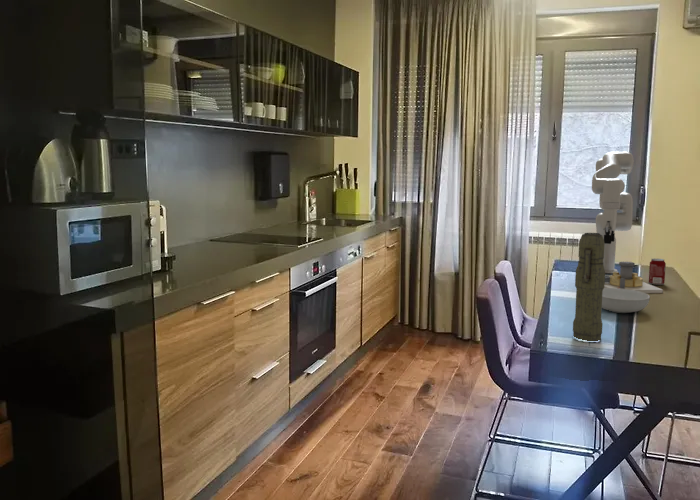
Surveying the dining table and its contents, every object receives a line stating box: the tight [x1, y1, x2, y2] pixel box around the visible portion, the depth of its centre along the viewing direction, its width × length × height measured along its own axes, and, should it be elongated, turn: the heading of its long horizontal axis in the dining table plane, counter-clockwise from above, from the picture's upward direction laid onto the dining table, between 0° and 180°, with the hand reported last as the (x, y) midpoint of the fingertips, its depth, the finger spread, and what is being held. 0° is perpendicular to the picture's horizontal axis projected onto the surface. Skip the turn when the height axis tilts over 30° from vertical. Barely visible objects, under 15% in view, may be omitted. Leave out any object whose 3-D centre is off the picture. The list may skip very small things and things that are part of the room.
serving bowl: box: [602, 288, 651, 314], centre depth 231 cm, size 21×21×7 cm
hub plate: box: [604, 261, 664, 294], centre depth 272 cm, size 24×22×12 cm
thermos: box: [572, 232, 606, 341], centre depth 191 cm, size 9×12×35 cm
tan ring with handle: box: [605, 271, 644, 287], centre depth 274 cm, size 24×14×4 cm, turn 70°
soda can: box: [648, 258, 667, 286], centre depth 279 cm, size 7×7×12 cm
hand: (608, 242), depth 276 cm, fingers open, 9 cm apart
